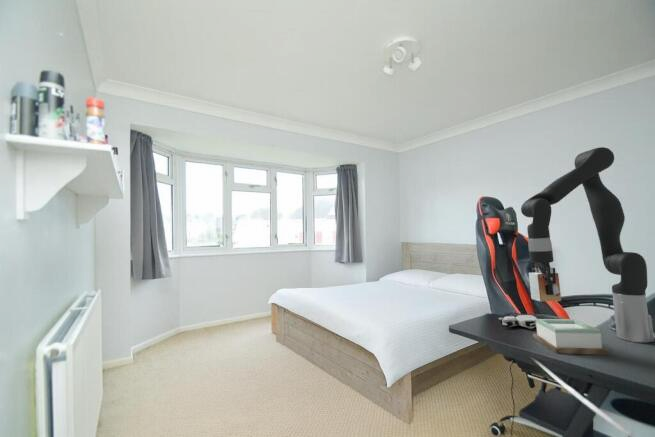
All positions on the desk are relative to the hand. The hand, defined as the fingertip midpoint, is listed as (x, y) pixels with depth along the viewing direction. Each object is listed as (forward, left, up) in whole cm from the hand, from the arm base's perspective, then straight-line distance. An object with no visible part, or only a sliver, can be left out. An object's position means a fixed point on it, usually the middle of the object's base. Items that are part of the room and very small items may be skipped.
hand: (545, 293), depth 117 cm
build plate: (-5, +3, -19) cm, 20 cm away
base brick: (-5, +3, -17) cm, 18 cm away
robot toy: (+2, -22, -19) cm, 29 cm away
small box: (0, 0, -3) cm, 3 cm away
